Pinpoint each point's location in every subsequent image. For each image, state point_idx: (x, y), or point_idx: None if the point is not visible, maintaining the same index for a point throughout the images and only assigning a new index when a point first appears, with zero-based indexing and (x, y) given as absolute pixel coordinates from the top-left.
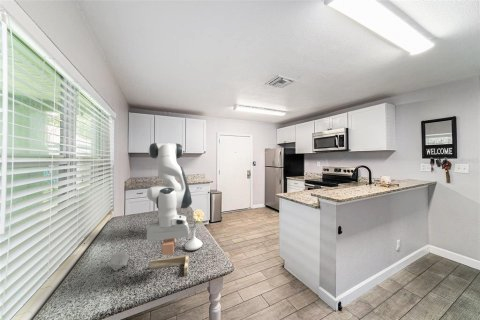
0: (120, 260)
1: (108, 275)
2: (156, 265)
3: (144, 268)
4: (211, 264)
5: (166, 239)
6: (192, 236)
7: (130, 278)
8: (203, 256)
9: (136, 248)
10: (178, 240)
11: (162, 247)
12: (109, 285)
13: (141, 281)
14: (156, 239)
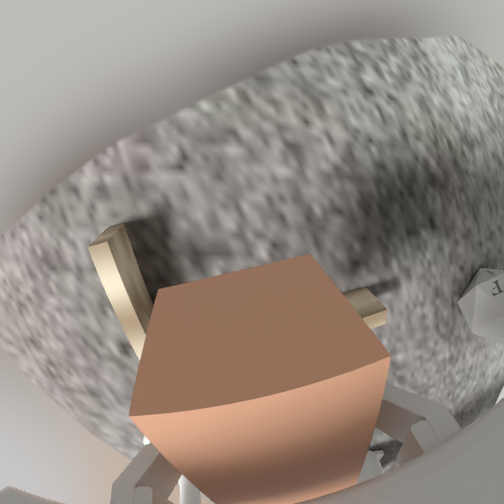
0: (497, 292)
1: (491, 242)
2: None
3: (392, 290)
4: (31, 318)
5: (332, 479)
6: (191, 485)
7: (430, 216)
8: (100, 381)
9: (432, 392)
10: (121, 475)
11: (358, 325)
12: (478, 180)
13: (378, 186)
14: (497, 425)
